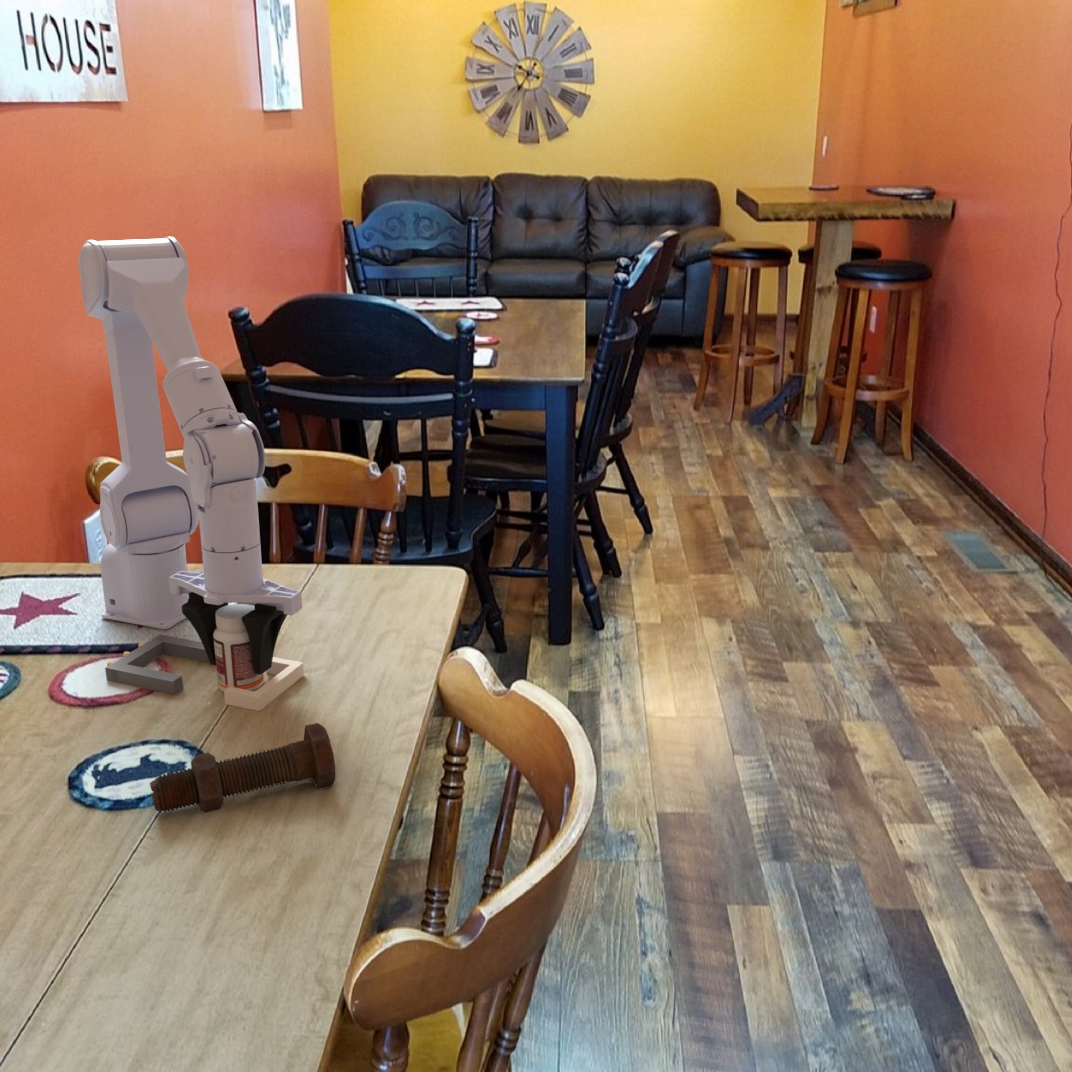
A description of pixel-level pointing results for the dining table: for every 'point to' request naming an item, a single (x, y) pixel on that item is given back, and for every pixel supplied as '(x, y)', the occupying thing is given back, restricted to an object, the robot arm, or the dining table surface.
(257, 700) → the bracket
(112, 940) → the dining table surface
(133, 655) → the gray u-shaped bracket
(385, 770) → the dining table surface
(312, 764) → the bolt
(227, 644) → the pill bottle
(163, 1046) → the dining table surface
